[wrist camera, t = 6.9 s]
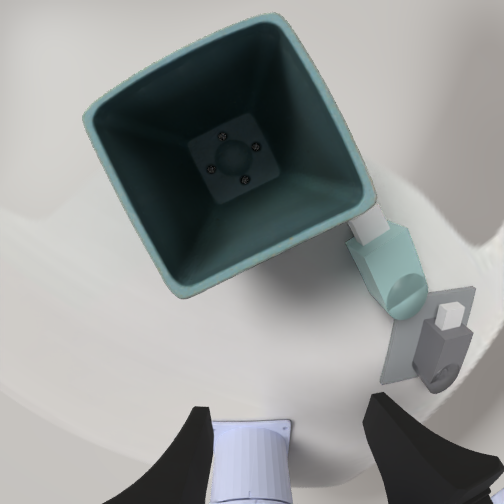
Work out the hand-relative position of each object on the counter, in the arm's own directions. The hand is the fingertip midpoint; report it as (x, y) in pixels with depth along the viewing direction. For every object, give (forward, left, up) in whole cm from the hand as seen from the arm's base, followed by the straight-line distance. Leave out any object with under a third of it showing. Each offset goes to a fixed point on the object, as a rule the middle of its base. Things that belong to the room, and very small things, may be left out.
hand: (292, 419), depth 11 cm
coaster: (-4, -15, -10) cm, 18 cm away
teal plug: (+4, -8, -10) cm, 14 cm away
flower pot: (+11, +2, -11) cm, 15 cm away
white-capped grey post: (-4, -15, -10) cm, 18 cm away
